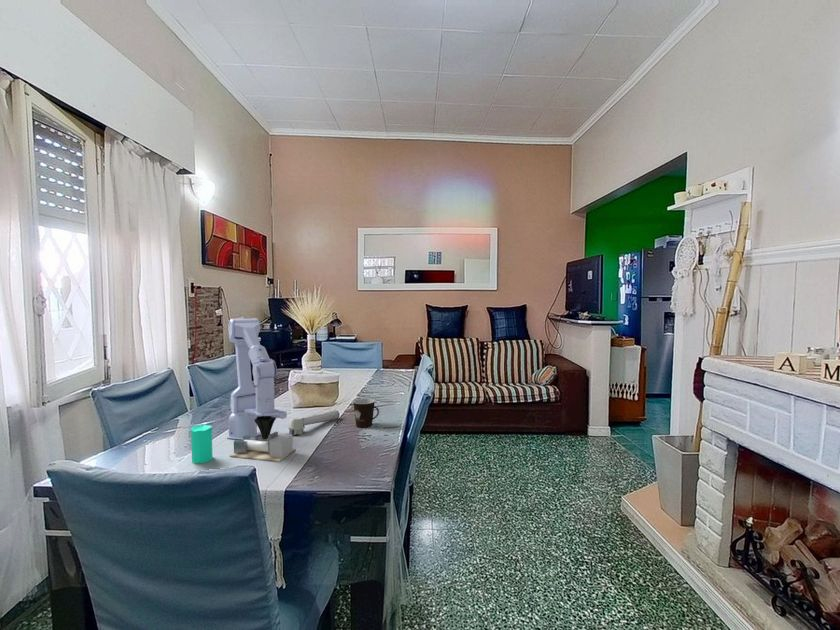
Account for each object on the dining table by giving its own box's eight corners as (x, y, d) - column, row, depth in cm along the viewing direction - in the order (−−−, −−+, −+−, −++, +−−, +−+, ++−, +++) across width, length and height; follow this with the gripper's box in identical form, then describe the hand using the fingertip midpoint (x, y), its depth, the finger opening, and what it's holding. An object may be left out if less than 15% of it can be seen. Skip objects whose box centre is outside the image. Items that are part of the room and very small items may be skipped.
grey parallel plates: (233, 452, 135) (233, 441, 135) (245, 446, 141) (245, 435, 140) (245, 454, 134) (245, 442, 134) (256, 447, 140) (256, 436, 139)
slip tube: (241, 451, 135) (240, 433, 135) (248, 447, 139) (248, 429, 139) (278, 455, 132) (278, 436, 132) (285, 450, 136) (285, 432, 136)
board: (229, 456, 133) (229, 455, 133) (249, 445, 143) (249, 444, 143) (278, 462, 129) (278, 460, 129) (295, 450, 138) (295, 448, 138)
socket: (269, 456, 131) (269, 440, 131) (281, 449, 138) (280, 433, 137) (281, 458, 130) (281, 441, 130) (292, 450, 137) (292, 434, 136)
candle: (189, 459, 131) (188, 422, 130) (209, 454, 135) (208, 418, 134) (194, 465, 126) (193, 427, 126) (215, 459, 131) (214, 422, 130)
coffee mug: (350, 424, 166) (350, 399, 166) (370, 421, 170) (370, 397, 170) (359, 432, 156) (359, 406, 156) (380, 429, 160) (380, 404, 160)
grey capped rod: (341, 410, 173) (296, 417, 151) (339, 426, 172) (294, 435, 151) (331, 408, 176) (286, 415, 154) (330, 424, 175) (284, 433, 154)
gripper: (238, 399, 132) (238, 440, 133) (277, 402, 129) (278, 444, 130) (251, 394, 139) (252, 433, 140) (289, 396, 136) (290, 436, 136)
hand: (265, 438), depth 135 cm, fingers closed
